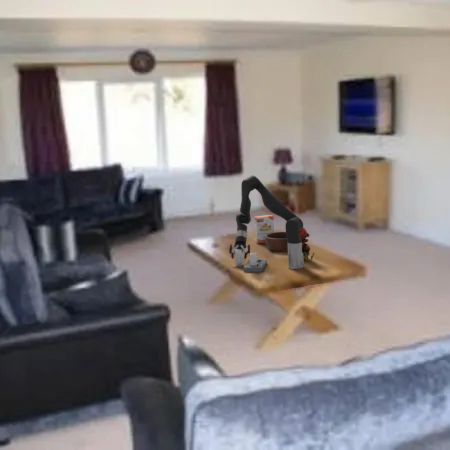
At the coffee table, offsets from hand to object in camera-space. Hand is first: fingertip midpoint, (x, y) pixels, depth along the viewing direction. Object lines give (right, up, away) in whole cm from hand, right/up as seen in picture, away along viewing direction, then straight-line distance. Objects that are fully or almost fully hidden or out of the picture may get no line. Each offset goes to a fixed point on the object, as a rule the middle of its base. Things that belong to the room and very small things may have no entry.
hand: (238, 258), depth 454 cm
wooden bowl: (+33, +5, +43) cm, 55 cm away
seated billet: (+10, -7, -11) cm, 16 cm away
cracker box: (+22, +9, +67) cm, 71 cm away
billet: (+1, -5, +2) cm, 5 cm away
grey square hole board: (+11, -6, -6) cm, 14 cm away
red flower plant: (+45, -1, +8) cm, 45 cm away
